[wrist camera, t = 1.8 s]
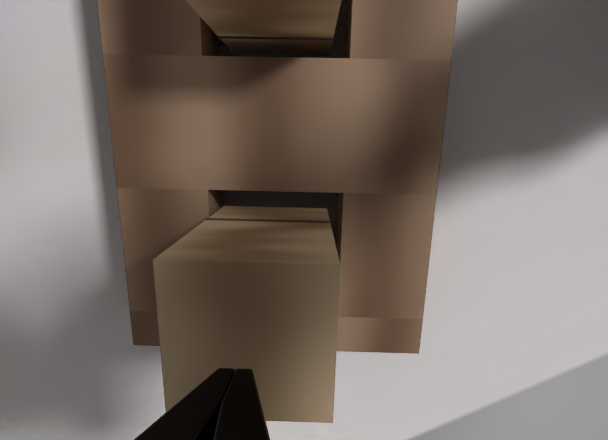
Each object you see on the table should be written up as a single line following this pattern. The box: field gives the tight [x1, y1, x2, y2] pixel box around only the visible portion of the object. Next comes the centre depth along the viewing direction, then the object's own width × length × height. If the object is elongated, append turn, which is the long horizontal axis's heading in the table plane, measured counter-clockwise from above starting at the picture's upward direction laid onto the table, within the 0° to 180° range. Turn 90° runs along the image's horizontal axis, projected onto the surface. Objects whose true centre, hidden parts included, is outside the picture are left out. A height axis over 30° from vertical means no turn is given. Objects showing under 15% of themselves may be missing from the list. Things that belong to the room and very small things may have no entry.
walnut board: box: [97, 0, 458, 353], centre depth 15 cm, size 16×24×8 cm, turn 179°
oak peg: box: [153, 206, 340, 423], centre depth 14 cm, size 5×5×8 cm
